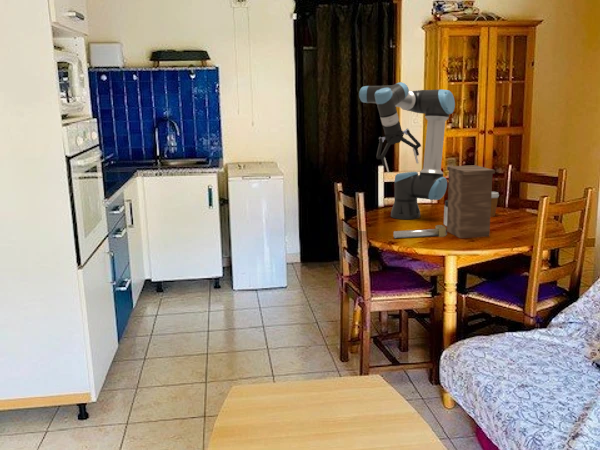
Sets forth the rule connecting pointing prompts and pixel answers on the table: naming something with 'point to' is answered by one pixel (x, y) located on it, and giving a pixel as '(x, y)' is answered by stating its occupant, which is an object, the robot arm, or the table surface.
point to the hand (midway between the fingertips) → (402, 166)
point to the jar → (445, 212)
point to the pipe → (422, 232)
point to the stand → (469, 201)
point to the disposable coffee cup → (494, 202)
